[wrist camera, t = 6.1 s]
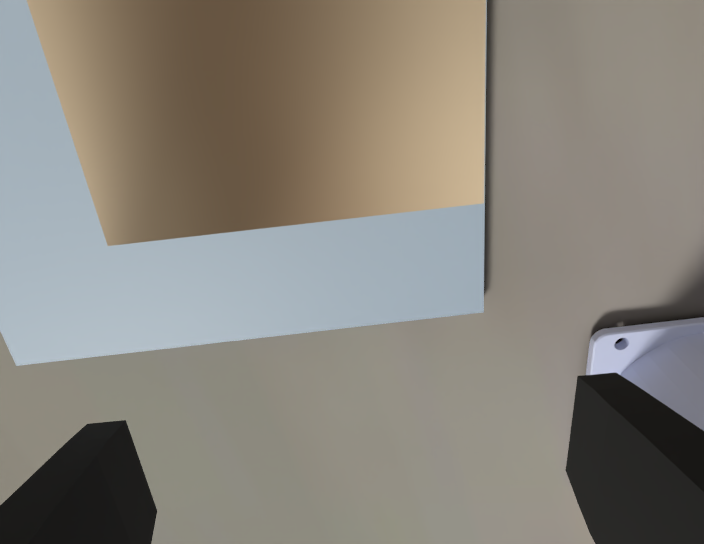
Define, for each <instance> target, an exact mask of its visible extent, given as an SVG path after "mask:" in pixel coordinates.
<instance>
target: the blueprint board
mask: <svg viewBox="0 0 704 544" xmlns="http://www.w3.org/2000/svg"><path fill="white" fill-rule="evenodd" d="M486 34H487V0H486ZM485 130H486V46H485ZM484 227H485V149H484V203H483V204H474V205H465V206H456V207H448V208H439V209H430V210H421V211H413V212H404V213H395V214H386V215H377V216H369V217H360V218H351V219H342V220H333V221H325V222H316V223H307V224H298V225H289V226H281V227H272V228H263V229H254V230H245V231H237V232H228V233H219V234H210V235H201V236H193V237H184V238H175V239H166V240H158V241H149V242H140V243H131V244H122V245H114V246H108V245H107V242H106V239H105V236H104V233H103V230H102V227H101V224H100V221H99V218H98V215H97V212H96V209H95V206H94V203H93V200H92V197H91V194H90V191H89V188H88V185H87V182H86V179H85V176H84V173H83V170H82V167H81V164H80V161H79V158H78V155H77V152H76V148H75V145H74V142H73V139H72V136H71V133H70V130H69V127H68V124H67V121H66V118H65V115H64V112H63V109H62V106H61V103H60V100H59V97H58V94H57V91H56V88H55V85H54V82H53V79H52V76H51V73H50V70H49V67H48V64H47V61H46V58H45V55H44V52H43V49H42V46H41V43H40V40H39V37H38V34H37V30H36V27H35V24H34V21H33V18H32V15H31V12H30V9H29V6H28V3H27V0H0V331H1V333H2V335H3V338H4V340H5V342H6V344H7V346H8V348H9V351H10V353H11V355H12V357H13V359H14V361H15V364H16V366H18V365H27V364H36V363H45V362H53V361H62V360H71V359H80V358H88V357H97V356H106V355H114V354H123V353H132V352H141V351H149V350H158V349H167V348H176V347H184V346H193V345H202V344H211V343H219V342H228V341H237V340H245V339H254V338H263V337H272V336H280V335H289V334H298V333H307V332H315V331H324V330H333V329H341V328H350V327H359V326H368V325H376V324H385V323H394V322H403V321H411V320H420V319H429V318H437V317H446V316H455V315H464V314H472V313H481V312H484Z"/></svg>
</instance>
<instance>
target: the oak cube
mask: <svg viewBox="0 0 704 544" xmlns="http://www.w3.org/2000/svg"><path fill="white" fill-rule="evenodd" d="M27 3H28V6H29V9H30V12H31V15H32V18H33V21H34V24H35V27H36V30H37V34H38V37H39V40H40V43H41V46H42V49H43V52H44V55H45V58H46V61H47V64H48V67H49V70H50V73H51V76H52V79H53V82H54V85H55V88H56V91H57V94H58V97H59V100H60V103H61V106H62V109H63V112H64V115H65V118H66V121H67V124H68V127H69V130H70V133H71V136H72V139H73V142H74V145H75V148H76V152H77V155H78V158H79V161H80V164H81V167H82V170H83V173H84V176H85V179H86V182H87V185H88V188H89V191H90V194H91V197H92V200H93V203H94V206H95V209H96V212H97V215H98V218H99V221H100V224H101V227H102V230H103V233H104V236H105V239H106V242H107V245H108V246H114V245H122V244H131V243H140V242H149V241H158V240H166V239H175V238H184V237H193V236H201V235H210V234H219V233H228V232H237V231H245V230H254V229H263V228H272V227H281V226H289V225H298V224H307V223H316V222H325V221H333V220H342V219H351V218H360V217H369V216H377V215H386V214H395V213H404V212H413V211H421V210H430V209H439V208H448V207H456V206H465V205H474V204H483V203H484V149H485V46H486V0H27Z"/></svg>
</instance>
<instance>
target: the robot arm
mask: <svg viewBox="0 0 704 544" xmlns="http://www.w3.org/2000/svg"><path fill="white" fill-rule="evenodd" d="M620 338H623V340H622V341H621V342H619V343H617V344H615V342H616V341H617V340H618V339H620ZM566 472H567V475H568V477H569V480H570V483H571V485H572V488H573V491H574V494H575V496H576V499H577V502H578V504H579V507H580V509H581V512H582V514H583V517H584V519H585V522H586V524H587V527H588V529H589V532H590V534H591V536H592V538H593V540H594V542H595V544H704V317H701V318H693V319H684V320H675V321H666V322H658V323H649V324H640V325H632V326H623V327H614V328H605V329H601V330H599V331H597V332H596V333H594V335H593V336H592V337H591V340H590V344H589V353H588V361H587V370H586V375H585V376H578V378H577V386H576V394H575V402H574V410H573V418H572V426H571V434H570V442H569V450H568V458H567V466H566ZM156 514H157V509H156V506H155V503H154V501H153V498H152V495H151V492H150V489H149V486H148V483H147V480H146V478H145V475H144V472H143V469H142V466H141V463H140V460H139V457H138V455H137V452H136V449H135V446H134V443H133V440H132V437H131V434H130V432H129V429H128V426H127V423H126V420H124V421H114V422H103V423H93V424H87V425H86V426H85V427H83V428H82V429H81V430H80V431H79V432H78V433H77V434H75V435H74V436H73V437H72V438H71V439H70V440H69V441H68V442H67V443H66V444H65V445H64V446H63V447H61V448H60V449H59V450H58V451H57V452H56V453H55V454H54V455H53V456H52V457H51V458H50V459H49V460H48V461H47V462H46V463H45V464H44V465H43V466H42V467H40V468H39V469H38V470H37V471H36V472H35V473H34V474H33V475H32V476H31V477H30V478H29V479H28V480H27V481H26V482H25V483H24V484H23V485H22V486H21V487H20V488H19V489H17V490H16V491H15V492H14V493H13V494H12V495H11V496H10V497H9V498H8V499H7V500H6V501H5V502H4V503H3V504H2V505H0V544H151V541H152V535H153V530H154V525H155V519H156Z"/></svg>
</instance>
